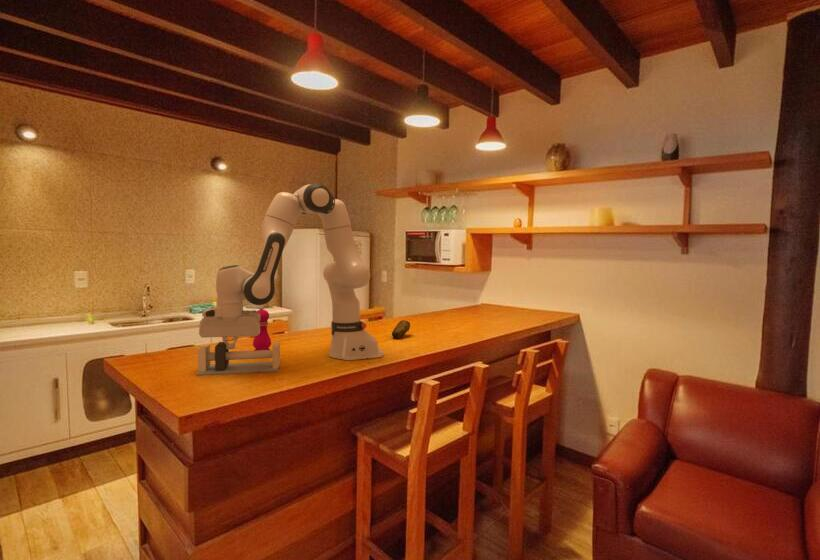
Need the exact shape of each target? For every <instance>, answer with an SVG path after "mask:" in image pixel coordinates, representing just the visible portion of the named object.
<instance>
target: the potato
mask: <svg viewBox="0 0 820 560" xmlns="http://www.w3.org/2000/svg"><path fill="white" fill-rule="evenodd" d="M410 328H411V323H410V321H408V320H400V321H399V322H398V323H397V324H396V325H395V327H394V328H393V330H392V331H391V336H392V338H393V339H397V340H398V339H399V338H400V339H401V338H402V337H404V336H405V334H407V332H409V331H410Z"/></svg>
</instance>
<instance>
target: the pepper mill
mask: <svg viewBox="0 0 820 560" xmlns="http://www.w3.org/2000/svg"><path fill="white" fill-rule="evenodd" d="M256 311H257V312H259V313H260V315H261V319H260V322H259V325H260V333H259V335H258V336H253V341H252V346H253V348H254V350H253V351H258V350H271V349H270V348H271V345H272V340H271V337H270V335H269V333H268V325H269V321H268V320H269V318H270V313H269V311H267V310H265V309H264V305H259V308H258V309H257V310H256Z"/></svg>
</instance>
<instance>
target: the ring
mask: <svg viewBox="0 0 820 560" xmlns="http://www.w3.org/2000/svg"><path fill="white" fill-rule="evenodd" d="M214 352H215V361H214V364H215V370H225V368H226V367H227V365H228V364H230V360H225V352H230V349H226V344H225V343H224V342H223V341H220V342H218V343H217V344H216V345H215V346H214Z"/></svg>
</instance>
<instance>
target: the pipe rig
mask: <svg viewBox="0 0 820 560" xmlns="http://www.w3.org/2000/svg"><path fill="white" fill-rule="evenodd" d="M280 347H281V342H280V341H275V342H273V344H272V349H270V350H258V351H254V350H239V351H238V350H235V351H229V352H225V360H229V361H237V360H239V361H240V360H262V359H272V361H259V362H257V361H255V362H238V363H237V362H236V363H230V362H229V364H228V365H227V367H226V368H225V370H215V363H212V364H211V362H212V361H214V362H215V351H212V352H211V344H202V345H200V346H199V347H198V348H197V372H196V374H195V375H197V376H211V375H212V376H215V375H234V374H236V373H239V374H255V373H256V374H257V373H258V372H260V373H277V372H279V369H280V366H281V350H280V349H281V348H280ZM258 374H259V373H258Z"/></svg>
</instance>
